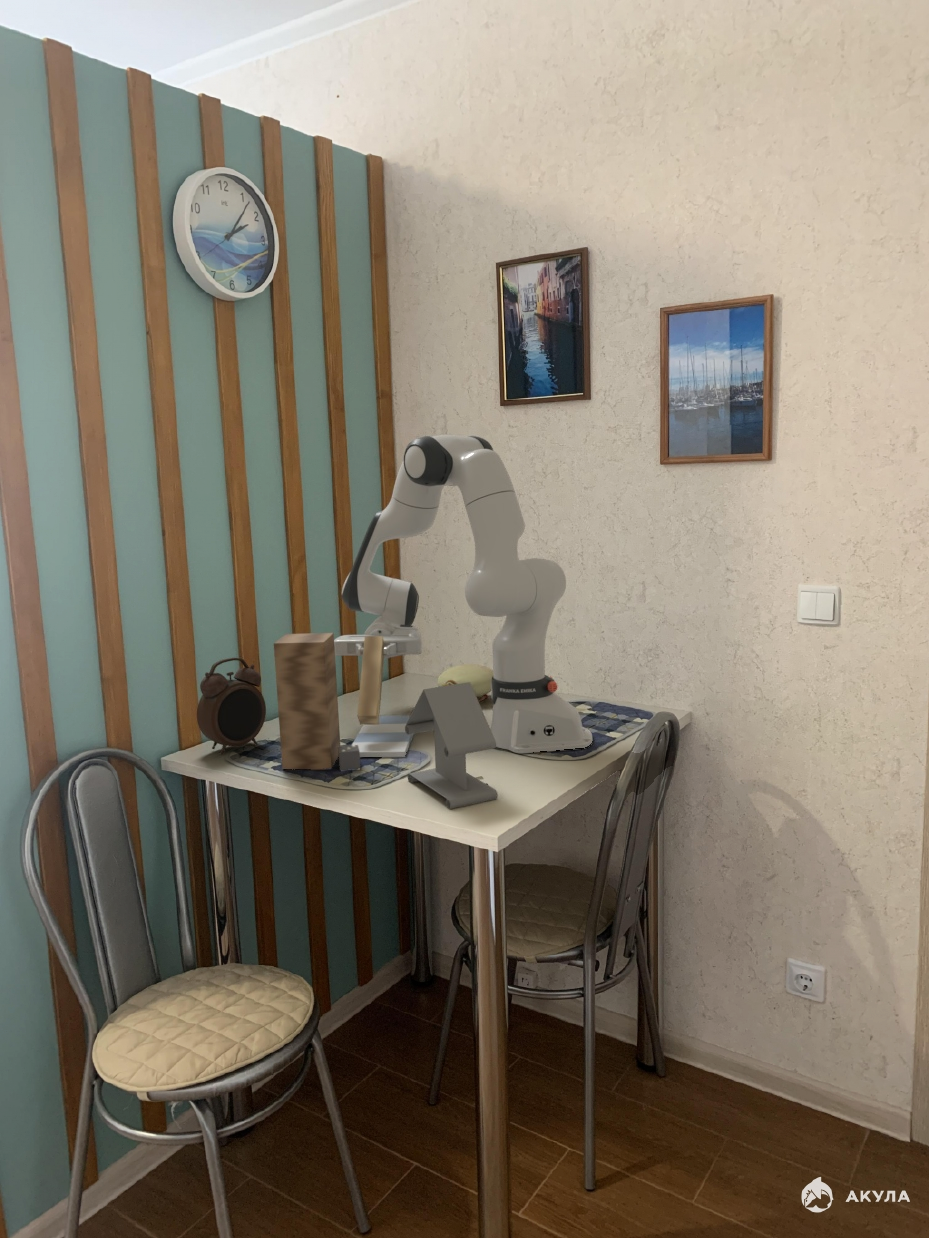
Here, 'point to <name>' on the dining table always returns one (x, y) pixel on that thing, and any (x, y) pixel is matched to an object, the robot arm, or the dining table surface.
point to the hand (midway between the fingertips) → (373, 652)
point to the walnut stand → (307, 700)
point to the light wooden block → (371, 681)
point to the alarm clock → (231, 706)
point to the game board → (384, 738)
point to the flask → (469, 678)
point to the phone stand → (453, 742)
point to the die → (349, 757)
